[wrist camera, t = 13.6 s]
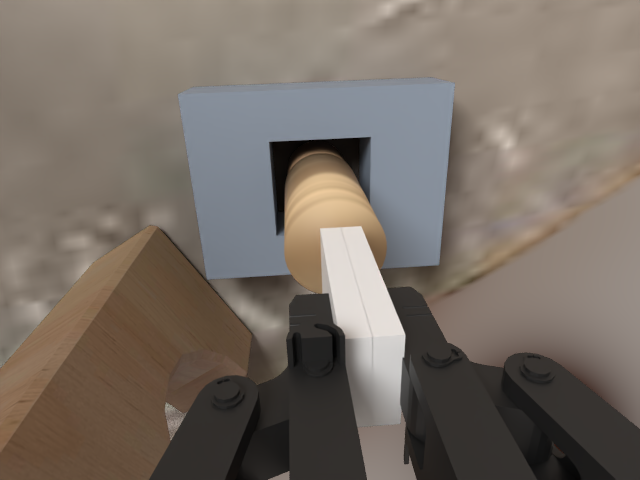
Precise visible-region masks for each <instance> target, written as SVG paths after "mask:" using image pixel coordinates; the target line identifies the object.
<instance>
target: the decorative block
mask: <svg viewBox="0 0 640 480" xmlns="http://www.w3.org/2000/svg"><path fill="white" fill-rule="evenodd" d="M251 337H252V334H251V333H250V332H249V331H248V329H247V328H246V327H245V326H244V325H243V324H242V323H241V321H240V320H239V319H238V318H237V317H236V316H235V314H234V313H233V312H232V311H231V310H230V309H229V308H228V306H227V305H226V304H225V303H224V302H223V301H222V299H221V298H220V297H219V296H218V295H217V294H216V293H215V291H214V290H213V289H212V288H211V287H210V286H209V284H208V283H207V282H206V281H205V280H204V279H203V278H202V276H201V275H200V274H199V273H198V272H197V271H196V270H195V268H194V267H193V266H192V265H191V264H190V263H189V262H188V260H187V259H186V258H185V257H184V256H183V255H182V254H181V252H180V251H179V250H178V249H177V248H176V247H175V246H174V244H173V243H172V242H171V241H170V240H169V239H168V238H167V236H166V235H165V234H164V233H163V232H162V231H161V230H160V229H159V227H157V226H151V225H150V226H148V227H147V228H145V229H144V230H142V231H141V232H139V233H137V234H136V235H134V236H133V237H131V238H130V239H128V240H127V241H125V242H124V243H122V244H121V245H119V246H118V247H116V248H115V249H113V250H112V251H110V252H109V253H107V254H106V255H104V256H103V257H101V258H100V259H98V260H97V261H95V262H94V263H93V264H92V265H91V266H90V267H89V268H88V269H87V271H86V272H85V273H84V274H83V275H82V276H81V277H80V279H79V280H78V281H77V282H76V283H75V284H74V285H73V287H72V288H71V289H70V290H69V291H68V292H67V293H66V295H65V296H64V297H63V298H62V299H61V300H60V301H59V303H58V304H57V305H56V306H55V307H54V308H53V309H52V311H51V312H50V313H49V314H48V315H47V316H46V317H45V319H44V320H43V321H42V322H41V323H40V324H39V325H38V327H37V328H36V329H35V330H34V331H33V332H32V333H31V335H30V336H29V337H28V338H27V339H26V340H25V341H24V342H23V344H22V345H21V346H20V347H19V348H18V349H17V350H16V352H15V353H14V354H13V355H12V356H11V357H10V358H9V360H8V361H7V362H6V363H5V364H4V365H3V366H2V368H1V369H0V480H149V479H150V477H151V475H152V473H153V472H154V470H155V468H156V466H157V465H158V463H159V461H160V459H161V458H162V456H163V454H164V453H165V451H166V449H167V447H168V446H169V444H170V442H171V441H170V436H169V431H168V426H167V421H166V416H165V404H166V402H167V403H169V404H170V405H172V406H173V407H175V408H176V409H178V410H179V411H181V412H182V413H185V412H188V411H189V409H190V407H191V406H192V404H193V402H194V401H195V399H196V397H197V395H198V394H199V392H200V391H201V390H202V389H203V388H204V386H205V385H207V384H208V383H210V382H212V381H213V380H215V379H217V378H221V377H224V376H231V375H239V376H243V377H247V372H248V363H249V354H250V346H251Z"/></svg>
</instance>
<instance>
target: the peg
mask: <svg viewBox="0 0 640 480" xmlns="http://www.w3.org/2000/svg"><path fill="white" fill-rule="evenodd" d="M355 226H361V227H362V229H363V232H364V234H365V237H366V239H367V242H368V244H369V246H370V249H371V251H372V254H373V256H374V259H375V261H376V264H377V266H378V269H379V271H380V269H381V268H382V266H383V263H384V261H385V257H386V252H387V241H386V236H385V233H384V230H383V228H382V226H381V224H380V222H379V221H378V219H377V217H376V215H375V213H374V211H373V209H372V207H371V205H370V203H369V201H368V199H367V197H366V195H365V194H364V192H363V190H362V188H361V186H360V184H359V182H358V180H357V178H356V176H355V174H354V172H353V170H352V169H351V167H350V166H349V165H348V164H347V163H346V162H345V160H344V158H343V156H342V154H341V153H340V152H339V150H338V149H337V148H336V147H334V146H333V145H331V144H329V143H327V142H324V141H310V142H307V143H304V144H302V145H301V146H299V147H298V148H297V149H296V150H295V151H294V152H293V153H292V155H291V157H290V159H289V162H288V167H287V178H286V182H285V228H284V255H285V261H286V264H287V267H288V269H289V271H290V273H291V275H292V276H293V277H294V279H295V280H296V281H297V282H298V283H299V284H301V285H302V286H303V287H305V288H306V289H308V290H310V291H312V292H315V293H318V294H322V269H321V241H320V228H337V227H355Z"/></svg>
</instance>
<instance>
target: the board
mask: <svg viewBox="0 0 640 480" xmlns="http://www.w3.org/2000/svg"><path fill="white" fill-rule="evenodd" d="M454 88H455V83H453V82H449V81H445V80H441V79H436V78H432V77H428V78H403V79H378V80H353V81H329V82H304V83H279V84H254V85H230V86H205V87H192V88H190V89H188V90H186V91H184V92H182V93H179V94H178V99H179V105H180V111H181V118H182V124H183V130H184V137H185V143H186V150H187V156H188V162H189V169H190V175H191V182H192V188H193V194H194V201H195V207H196V213H197V220H198V226H199V233H200V239H201V245H202V252H203V258H204V264H205V271H206V277H207V280H209V279H225V278H241V277H257V276H273V275H289V274H291V273H290V271H289V269H288V267H287V264H286V261H285V255H284V228H285V211H283V212H278V211H277V198H276V185H275V172H274V158H273V145H272V142H275V141H296V140H317V139H338V138H359V184H360V186H361V188H362V190H363V192H364V194H365V195H366V197H367V199H368V201H369V203H370V205H371V207H372V209H373V211H374V213H375V215H376V217H377V219H378V221H379V222H380V224H381V226H382V228H383V230H384V233H385V236H386V241H387V252H386V257H385V261H384V263H383V266H382V268H381V269H385V268H401V267H417V266H433V265H439V260H440V248H441V237H442V225H443V214H444V202H445V191H446V179H447V168H448V157H449V145H450V134H451V122H452V111H453V99H454Z"/></svg>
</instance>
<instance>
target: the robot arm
mask: <svg viewBox="0 0 640 480" xmlns="http://www.w3.org/2000/svg"><path fill="white" fill-rule="evenodd" d="M320 241H321V269H322V294H308V295H296V296H295V298H294V299H293V300H292V302H291V303H290V305H289V317H290V318H289V323H290V332H289V333H288V336H287V339H286V342H287V355H288V366H287V368H286V369H285V371H284V372H283V373H282V374H281V375H279V376H278V377H276V378H274V379H272V380H270V381H268V382H265V383H262V384H259V385H256V384H255V383H254V382H253V381H252V380H250V379H249V378H247V377H243V376H239V375H231V376H224V377H221V378H217V379H215V380H213V381H212V382H210V383H208V384H207V385H205V386H204V388H203V389H202V390H201V391H200V392H199V394H198V395H197V397H196V399H195V401H194V402H193V404H192V406H191V407H190V409H189V411H188V413H187V414H186V416H185V418H184V420H183V421H182V423H181V425H180V427H179V428H178V430H177V432H176V433H175V435H174V437H173V439H172V440H171V442H170V444H169V446H168V447H167V449H166V451H165V453H164V454H163V456H162V458H161V459H160V461H159V463H158V465H157V466H156V468H155V470H154V472H153V473H152V475H151V477H150V479H149V480H268V479H270V478H273V477H275V476H278V475H280V474H282V473H285V472H288V471H290V480H367V477H366V472H365V466H364V461H363V456H362V450H361V445H360V439H359V434H358V429H357V427H368V426H381V425H394V424H400V423H401V409H402V412H403V415H404V418H405V422H406V429H405V445H404V464H409V455H410V458H411V461H412V465H413V468H414V472H415V475H416V478H417V480H640V429H639V428H638V427H637V426H635V425H634V424H633V423H632V422H630V421H629V420H628V419H627V418H626V417H624V416H623V415H622V414H621V413H619V412H618V411H617V410H616V409H614V408H613V407H612V406H611V405H609V404H608V403H607V402H605V401H604V400H603V399H602V398H601V397H600V396H598V395H597V394H596V393H595V392H593V391H592V390H591V389H590V388H588V387H587V386H586V385H585V384H583V383H582V382H581V381H580V380H578V379H577V378H576V377H575V376H573V375H572V374H571V373H570V372H569V371H567V370H566V369H565V368H564V367H562V366H561V365H560V364H558V363H557V362H555V361H553V360H552V359H550V358H547V357H544V356H541V355H539V354H533V353H518V354H514V355H512V356H510V357H508V359H507V360H506V362H505V364H504V368H500V367H494V366H487V365H482V364H477V363H473V362H470V361H469V359H468V358H467V356H466V355H465V354H464V352H462V350H461V349H459V348H458V347H456V346H454V345H452V344H450V343H447V341H446V339H445V338H444V335H443V333H442V332H441V330H440V328H439V326H438V324H437V322H436V320H435V319H434V317H433V315H432V313H431V311H430V309H429V307H427V304H426V302H425V300H424V298H423V296H422V295H421V294H420V293H418V292H417V291H416V290H414V289H413V288H412V287H400V288H386V286H385V283H384V281H383V278H382V276H381V273H380V271H379V269H378V266H377V264H376V261H375V259H374V256H373V254H372V251H371V249H370V246H369V244H368V242H367V239H366V237H365V234H364V232H363V229H362V227H361V226H355V227H337V228H320ZM554 444H556V446H557V447H559V449H560V450H561V451H562V452H563V453H564V454H563V453H562V452H561V451H559V450H558V449H557V448H556V447H555V446H554Z"/></svg>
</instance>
